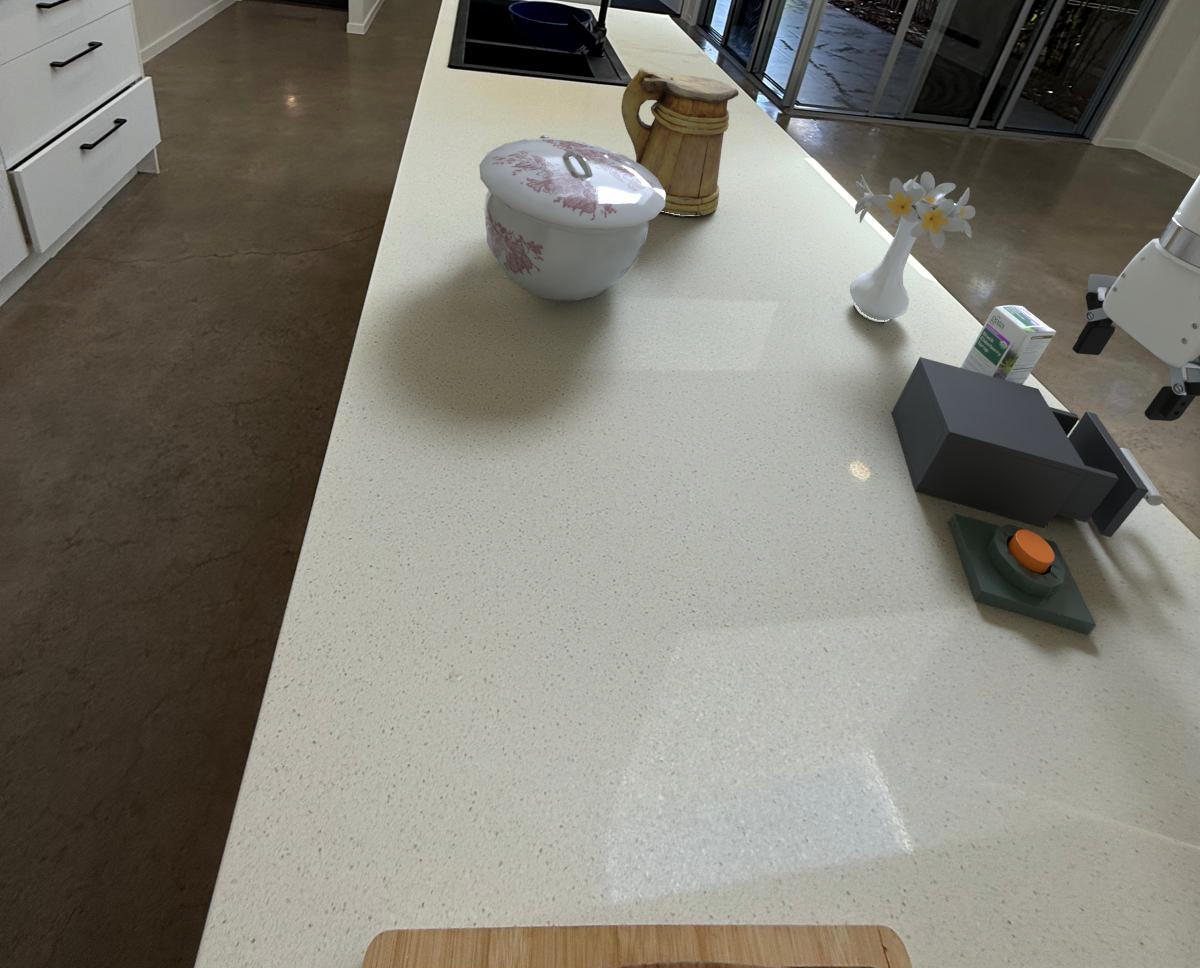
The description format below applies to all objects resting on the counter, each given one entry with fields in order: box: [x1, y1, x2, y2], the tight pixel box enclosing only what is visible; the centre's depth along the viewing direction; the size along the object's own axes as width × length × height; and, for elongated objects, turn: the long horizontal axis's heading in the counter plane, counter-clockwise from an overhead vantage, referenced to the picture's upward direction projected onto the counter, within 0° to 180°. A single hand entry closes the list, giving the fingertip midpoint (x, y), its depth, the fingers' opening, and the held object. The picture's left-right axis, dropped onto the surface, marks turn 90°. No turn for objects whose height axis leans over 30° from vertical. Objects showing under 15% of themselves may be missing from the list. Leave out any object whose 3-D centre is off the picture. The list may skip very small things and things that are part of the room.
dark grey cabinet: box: [890, 356, 1088, 529], centre depth 79 cm, size 15×13×10 cm
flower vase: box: [849, 171, 976, 321], centre depth 104 cm, size 13×18×25 cm
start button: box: [1008, 529, 1055, 573], centre depth 67 cm, size 4×4×2 cm
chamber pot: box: [478, 134, 666, 302], centre depth 98 cm, size 28×28×21 cm
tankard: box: [621, 68, 740, 216], centre depth 128 cm, size 18×24×25 cm
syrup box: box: [959, 304, 1057, 385], centre depth 91 cm, size 6×6×14 cm
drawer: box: [1049, 406, 1164, 538], centre depth 78 cm, size 18×12×8 cm, turn 79°
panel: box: [947, 512, 1097, 636], centre depth 68 cm, size 11×9×4 cm
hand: (1119, 383), depth 71 cm, fingers open, 9 cm apart
